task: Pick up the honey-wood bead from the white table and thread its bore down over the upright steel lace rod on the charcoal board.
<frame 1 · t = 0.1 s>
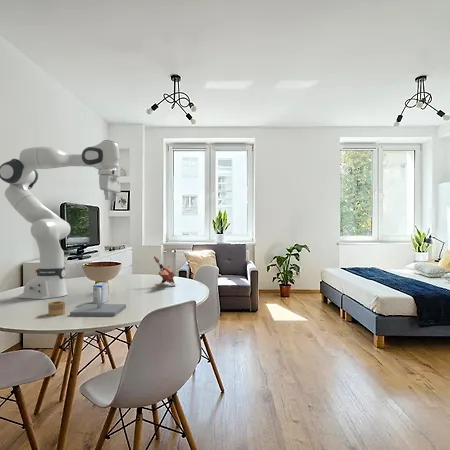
hand: (110, 200, 181), 48 cm above the table, fingers open, 8 cm apart
bead: (56, 313, 146), on the table
medicine box: (101, 302, 167), on the table
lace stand: (99, 311, 150), on the table
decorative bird: (165, 286, 208), on the table
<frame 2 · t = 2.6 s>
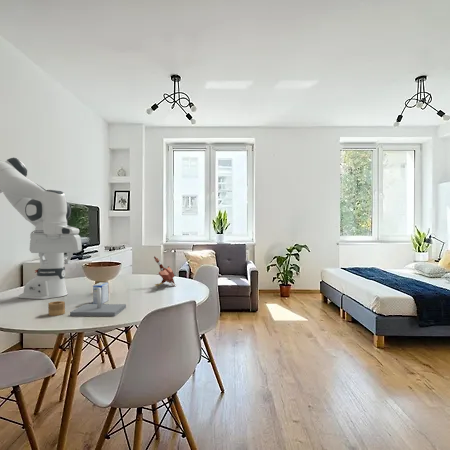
hand: (55, 264, 146), 20 cm above the table, fingers open, 8 cm apart
nothing on the table moved.
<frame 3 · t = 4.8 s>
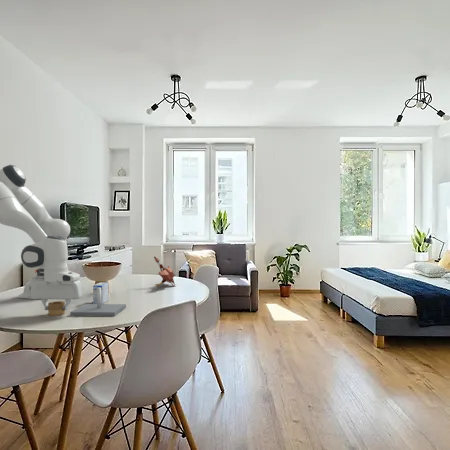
hand: (56, 309, 146), 2 cm above the table, fingers closed on bead, 6 cm apart
bead: (56, 313, 146), on the table, touching gripper
everything else where it was.
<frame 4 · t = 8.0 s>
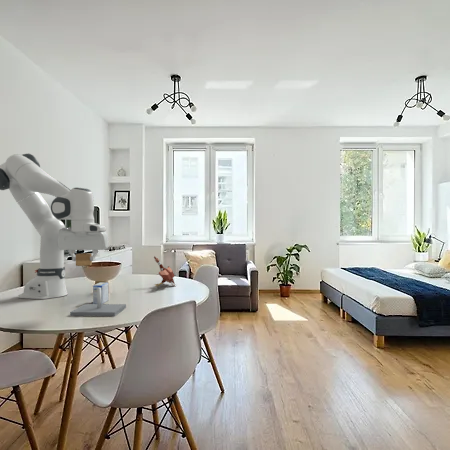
hand: (83, 261, 148), 21 cm above the table, fingers closed on bead, 6 cm apart
bead: (83, 265, 148), point 20 cm above the table, touching gripper
everything else where it was.
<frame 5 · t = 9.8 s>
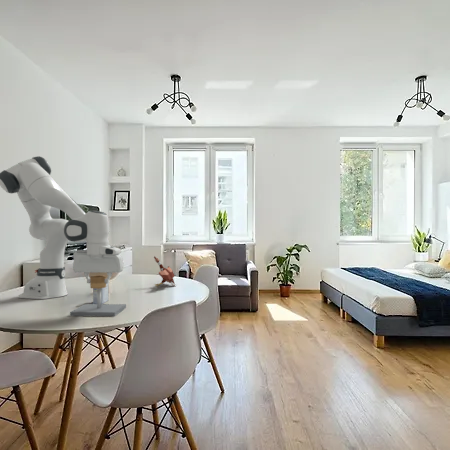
hand: (98, 283, 149), 12 cm above the table, fingers closed on bead, 6 cm apart
bead: (98, 287, 149), point 10 cm above the table, touching gripper
everything else where it was.
when the fingers open (8 cm above the table, at t = 11.1 s): bead drops 5 cm, resting on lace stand.
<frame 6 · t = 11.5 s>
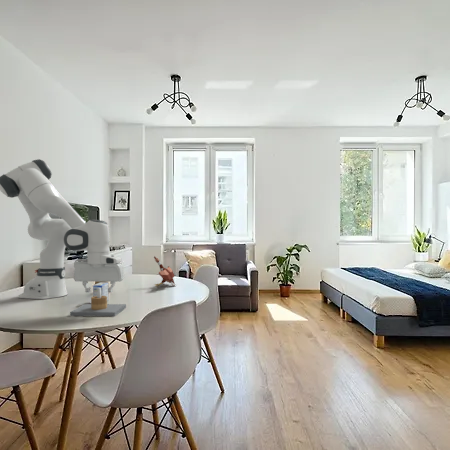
hand: (99, 292, 150), 8 cm above the table, fingers open, 8 cm apart
bead: (99, 308, 150), point 1 cm above the table, touching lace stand
everything else where it was.
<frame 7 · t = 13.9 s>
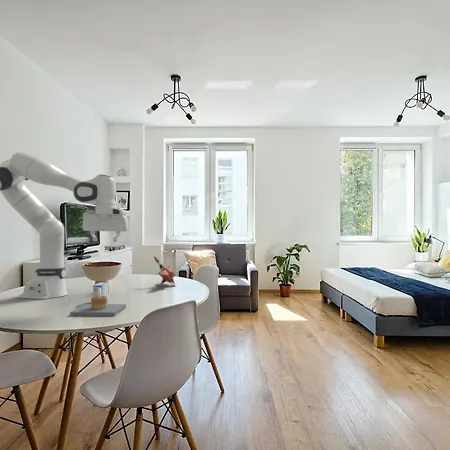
hand: (105, 241, 163), 28 cm above the table, fingers open, 8 cm apart
nothing on the table moved.
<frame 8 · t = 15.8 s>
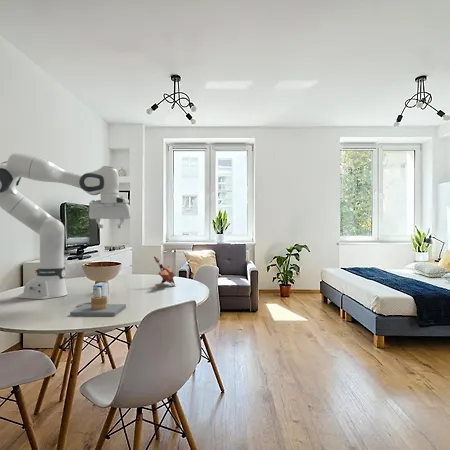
hand: (110, 228, 177), 34 cm above the table, fingers open, 8 cm apart
nothing on the table moved.
at the end: bead 0.0 cm off-centre on the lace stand, point 1.5 cm above the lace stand's base; bead tilted 0°; the gripper is holding nothing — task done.
